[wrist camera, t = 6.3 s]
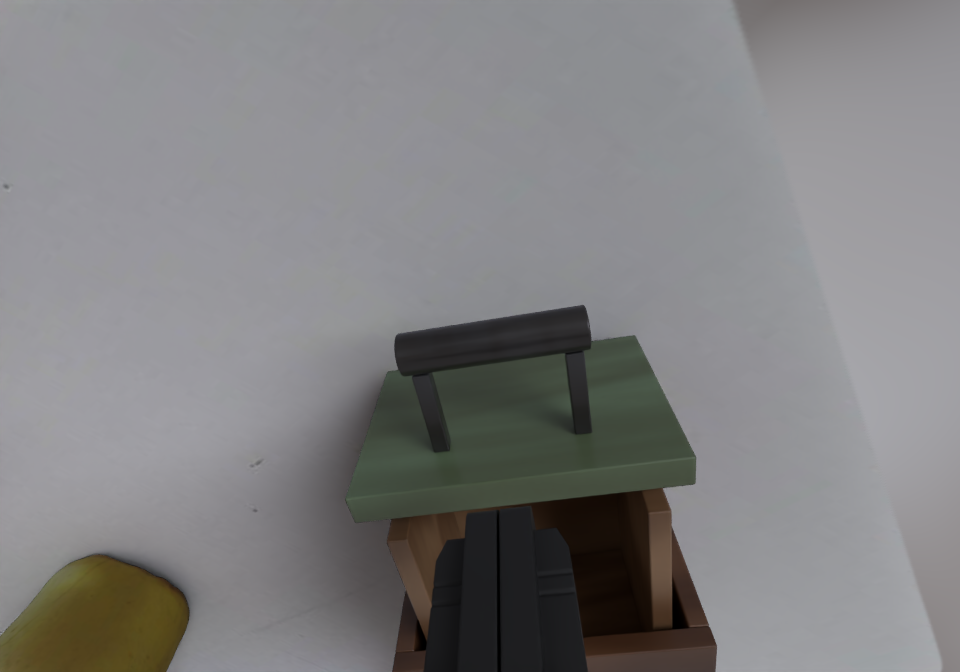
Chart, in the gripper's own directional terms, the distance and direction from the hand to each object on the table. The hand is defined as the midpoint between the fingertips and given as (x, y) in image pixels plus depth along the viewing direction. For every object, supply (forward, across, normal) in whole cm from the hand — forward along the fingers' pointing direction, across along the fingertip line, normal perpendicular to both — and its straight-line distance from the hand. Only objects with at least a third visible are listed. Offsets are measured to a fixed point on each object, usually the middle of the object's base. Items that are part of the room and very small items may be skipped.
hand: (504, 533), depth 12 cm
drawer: (+12, 0, +7) cm, 13 cm away
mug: (+12, +30, +17) cm, 36 cm away
